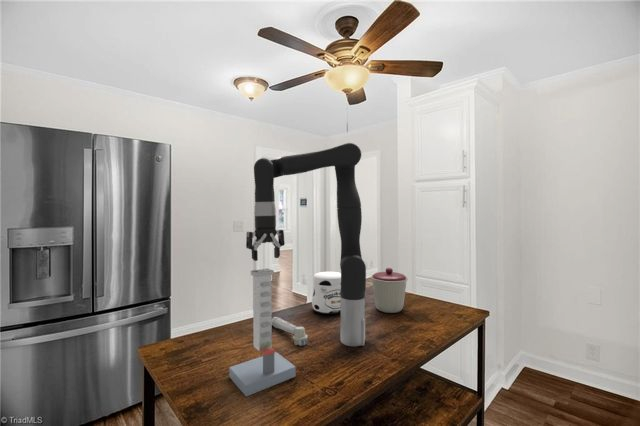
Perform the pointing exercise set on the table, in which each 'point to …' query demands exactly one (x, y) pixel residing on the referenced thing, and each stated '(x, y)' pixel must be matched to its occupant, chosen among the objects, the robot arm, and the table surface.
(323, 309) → the milk container
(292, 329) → the toothbrush head
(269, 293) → the column
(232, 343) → the table surface
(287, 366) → the stand base
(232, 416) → the table surface
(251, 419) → the table surface
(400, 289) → the canister
